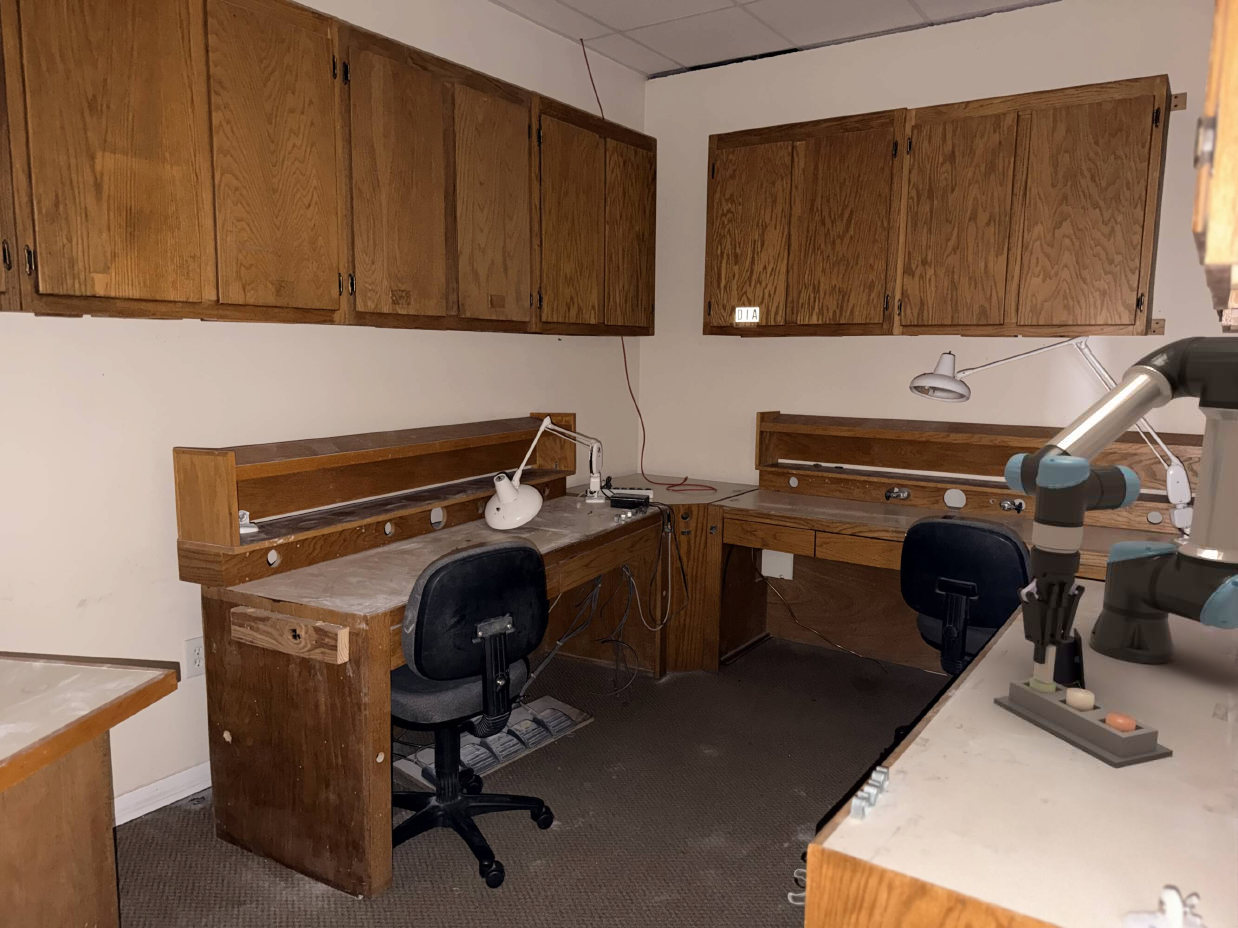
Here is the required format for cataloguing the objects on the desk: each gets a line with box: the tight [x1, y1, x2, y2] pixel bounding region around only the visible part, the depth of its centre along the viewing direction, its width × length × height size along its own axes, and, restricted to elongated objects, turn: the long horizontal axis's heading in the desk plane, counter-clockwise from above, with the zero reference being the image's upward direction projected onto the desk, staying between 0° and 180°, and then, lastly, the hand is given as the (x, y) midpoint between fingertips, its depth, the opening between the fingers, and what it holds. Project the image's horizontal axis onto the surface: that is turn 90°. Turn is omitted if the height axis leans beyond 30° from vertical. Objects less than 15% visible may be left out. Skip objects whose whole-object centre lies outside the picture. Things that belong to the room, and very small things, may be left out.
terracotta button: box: [1105, 712, 1136, 733], centre depth 131 cm, size 4×4×4 cm
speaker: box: [1053, 627, 1086, 690], centre depth 156 cm, size 8×6×10 cm
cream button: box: [1066, 687, 1095, 712], centre depth 138 cm, size 4×4×4 cm
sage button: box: [1029, 676, 1056, 694], centre depth 145 cm, size 4×4×4 cm
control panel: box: [993, 677, 1174, 769], centre depth 138 cm, size 24×12×4 cm, turn 20°
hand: (1042, 680), depth 145 cm, fingers closed
